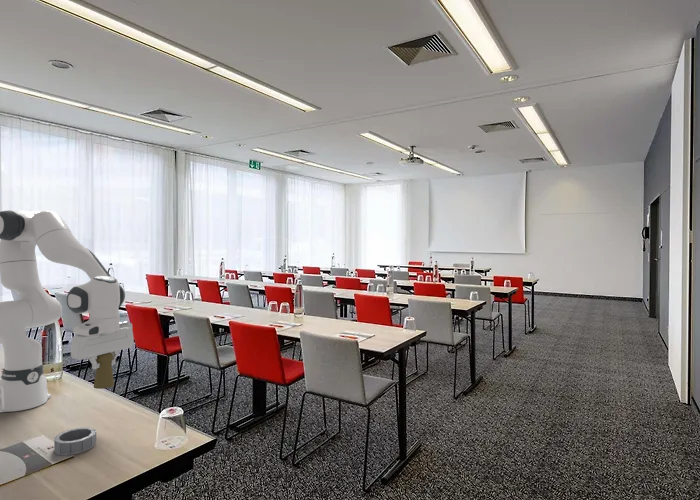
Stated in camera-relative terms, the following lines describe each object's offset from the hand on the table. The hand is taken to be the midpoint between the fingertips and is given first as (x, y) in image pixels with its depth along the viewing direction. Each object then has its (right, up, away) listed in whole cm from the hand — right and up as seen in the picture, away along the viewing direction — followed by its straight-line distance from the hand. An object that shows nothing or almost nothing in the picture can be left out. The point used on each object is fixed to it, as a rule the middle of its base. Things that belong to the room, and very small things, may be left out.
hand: (103, 366), depth 143 cm
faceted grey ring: (0, -20, -15) cm, 25 cm away
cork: (0, -7, 0) cm, 7 cm away
